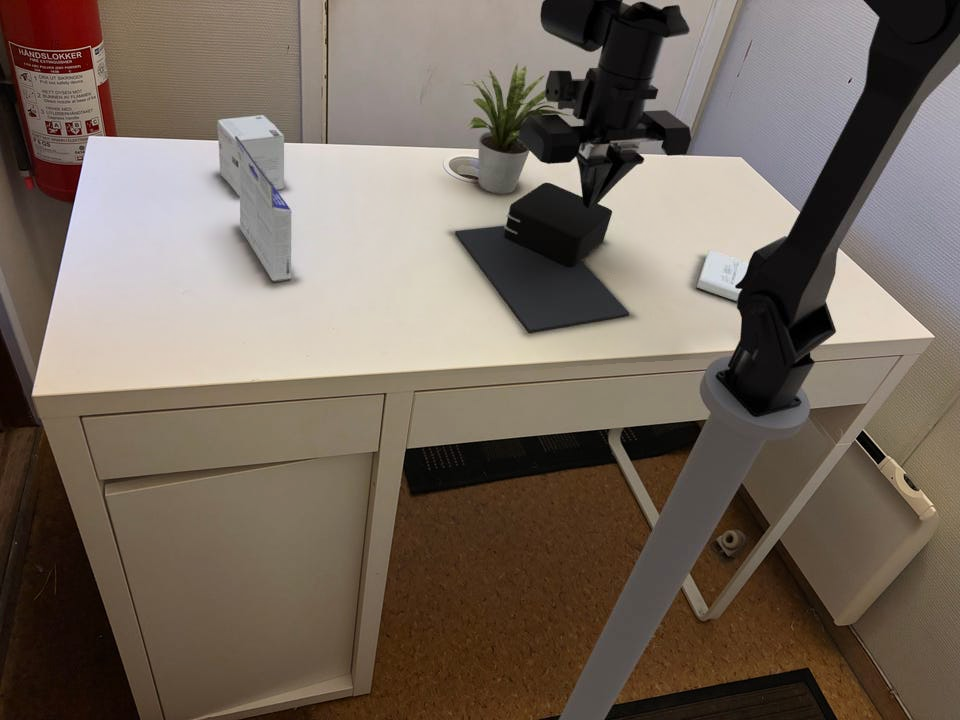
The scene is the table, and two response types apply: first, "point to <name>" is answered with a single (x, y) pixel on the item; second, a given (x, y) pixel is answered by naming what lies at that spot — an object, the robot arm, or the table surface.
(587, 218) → the electronic device
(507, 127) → the house plant
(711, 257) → the hard drive
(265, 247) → the ink box
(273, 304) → the table surface
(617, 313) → the mat
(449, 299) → the table surface
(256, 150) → the white cardboard box
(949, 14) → the robot arm
